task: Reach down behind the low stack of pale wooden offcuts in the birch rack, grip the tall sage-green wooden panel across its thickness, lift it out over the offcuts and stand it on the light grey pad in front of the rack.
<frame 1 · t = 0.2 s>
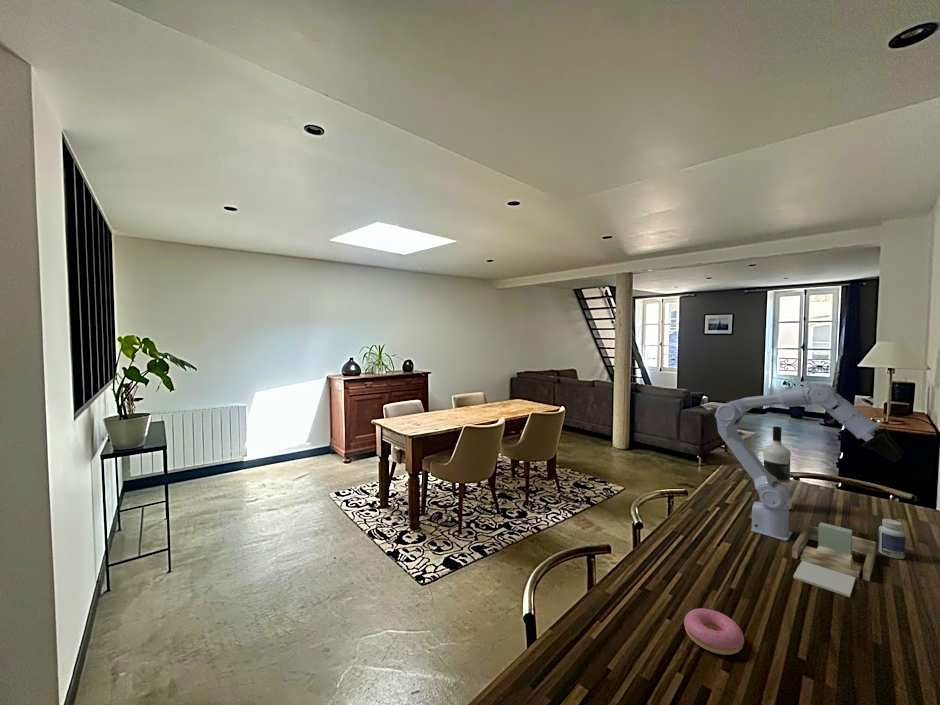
hand: (899, 457, 111), 31 cm above the table, tool tilted 45°, fingers open, 7 cm apart
pill bottle: (891, 555, 119), on the table
doughnut: (713, 640, 86), on the table
rack: (833, 558, 117), on the table
vodka: (776, 506, 154), on the table
grey pad: (824, 578, 107), on the table
green panel: (834, 554, 119), resting in rack
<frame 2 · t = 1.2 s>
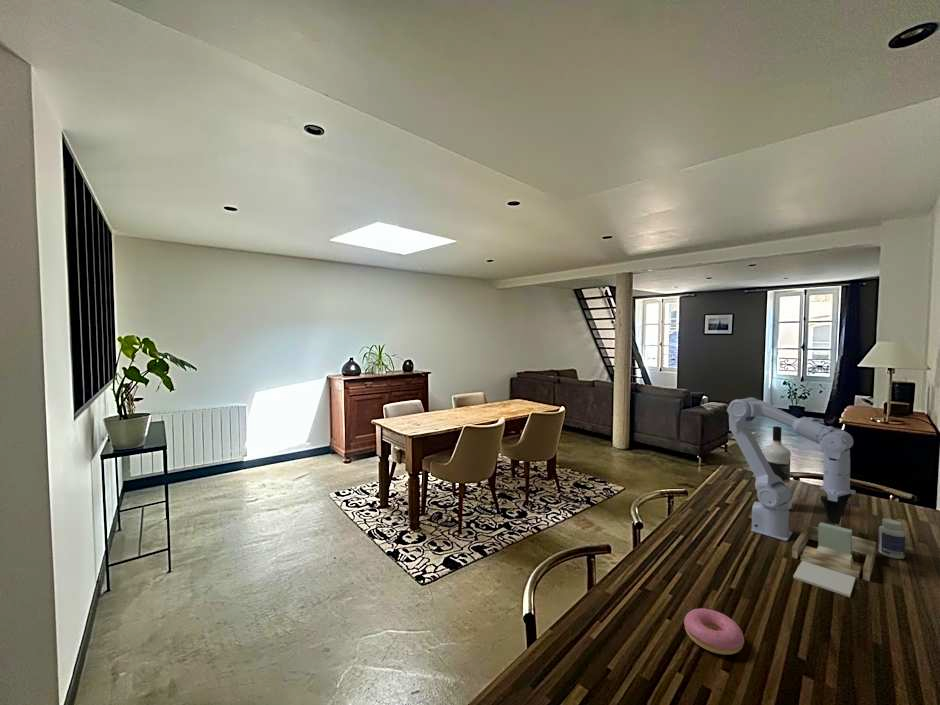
hand: (836, 519, 119), 10 cm above the table, tool pointing down, fingers open, 7 cm apart
nothing on the table moved.
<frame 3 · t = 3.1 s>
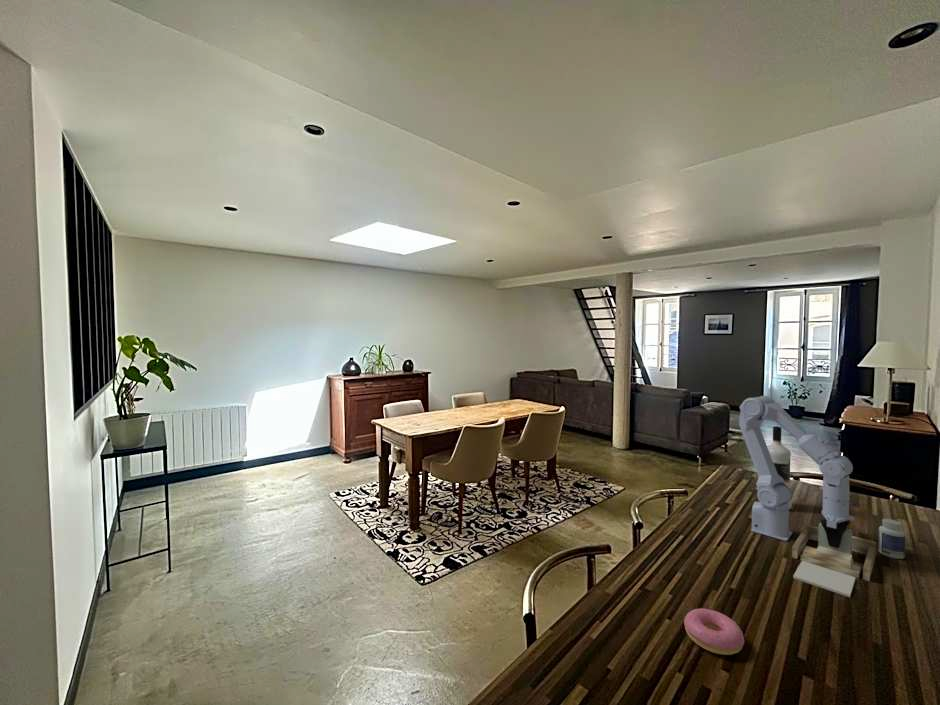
hand: (834, 544, 119), 3 cm above the table, tool pointing down, fingers closed on green panel, 3 cm apart
green panel: (834, 554, 119), resting in rack, touching gripper
everything else where it was.
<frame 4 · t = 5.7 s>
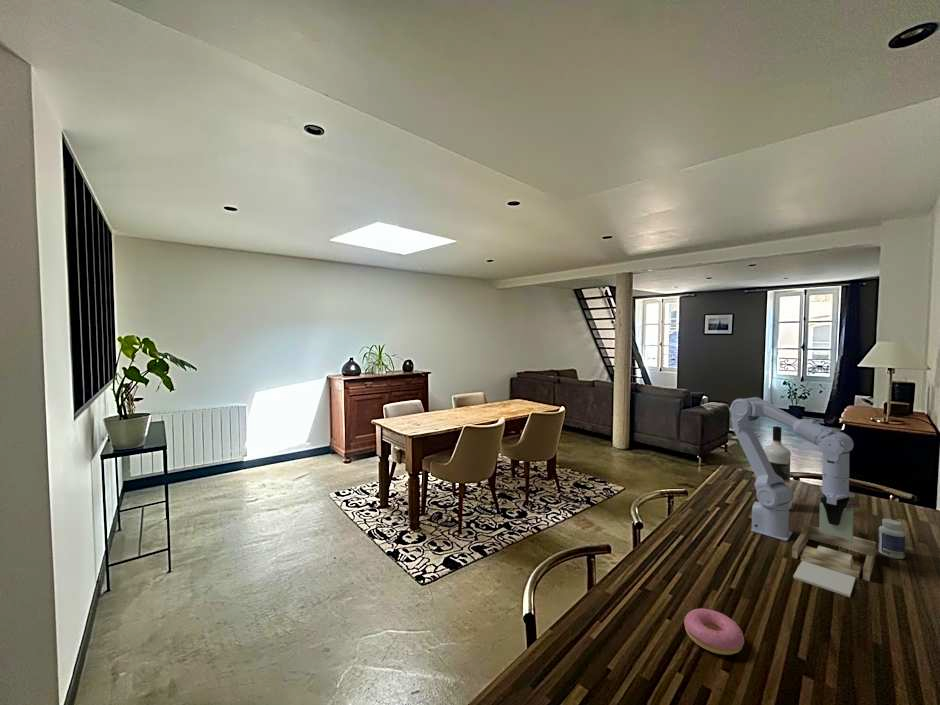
hand: (834, 522, 118), 10 cm above the table, tool pointing down, fingers closed on green panel, 3 cm apart
green panel: (835, 534, 118), point 7 cm above the table, touching gripper
everything else where it was.
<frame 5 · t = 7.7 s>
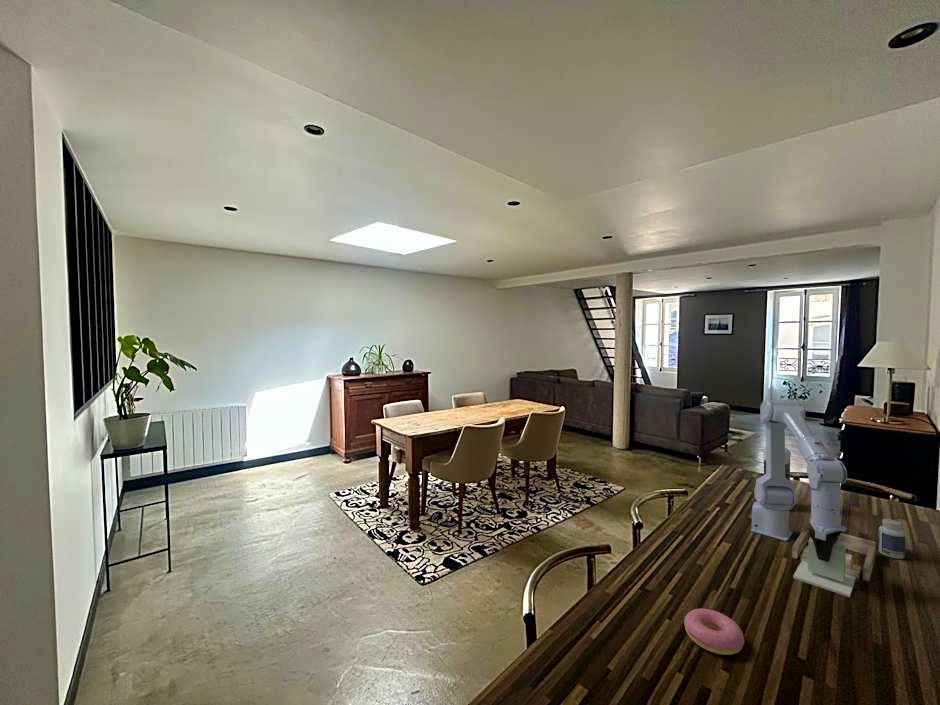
hand: (824, 557, 107), 6 cm above the table, tool pointing down, fingers closed on green panel, 3 cm apart
green panel: (826, 574, 107), point 1 cm above the table, touching gripper
everything else where it was.
when the fingers open (5 cm above the table, at t = 8.6 s): green panel stays where it is, resting on grey pad.
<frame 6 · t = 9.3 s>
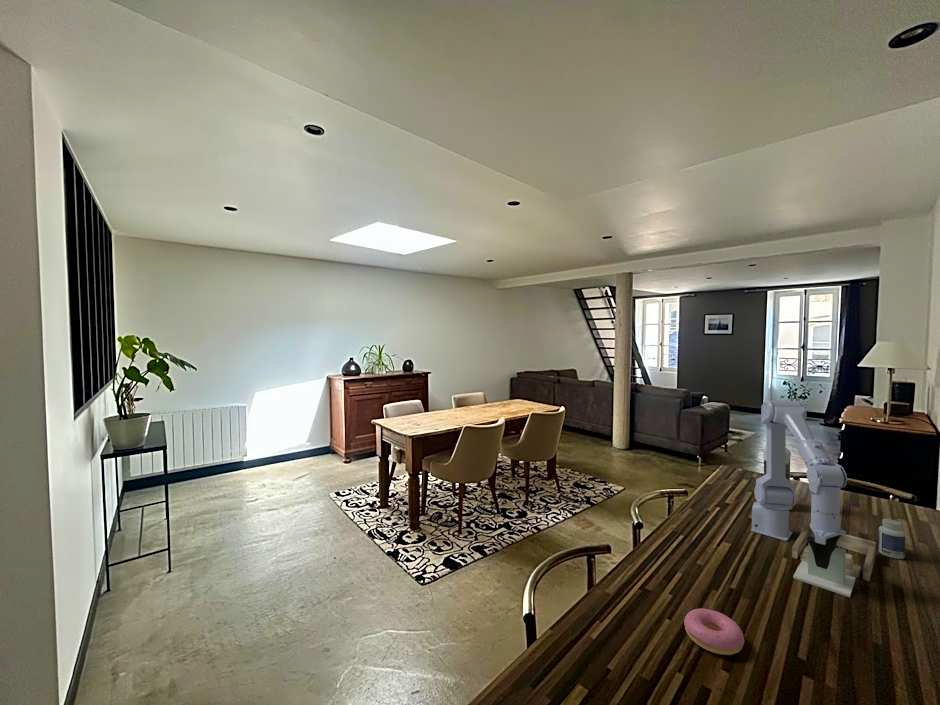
hand: (824, 561, 107), 5 cm above the table, tool pointing down, fingers open, 7 cm apart
green panel: (826, 577, 107), point 1 cm above the table, touching grey pad
everything else where it was.
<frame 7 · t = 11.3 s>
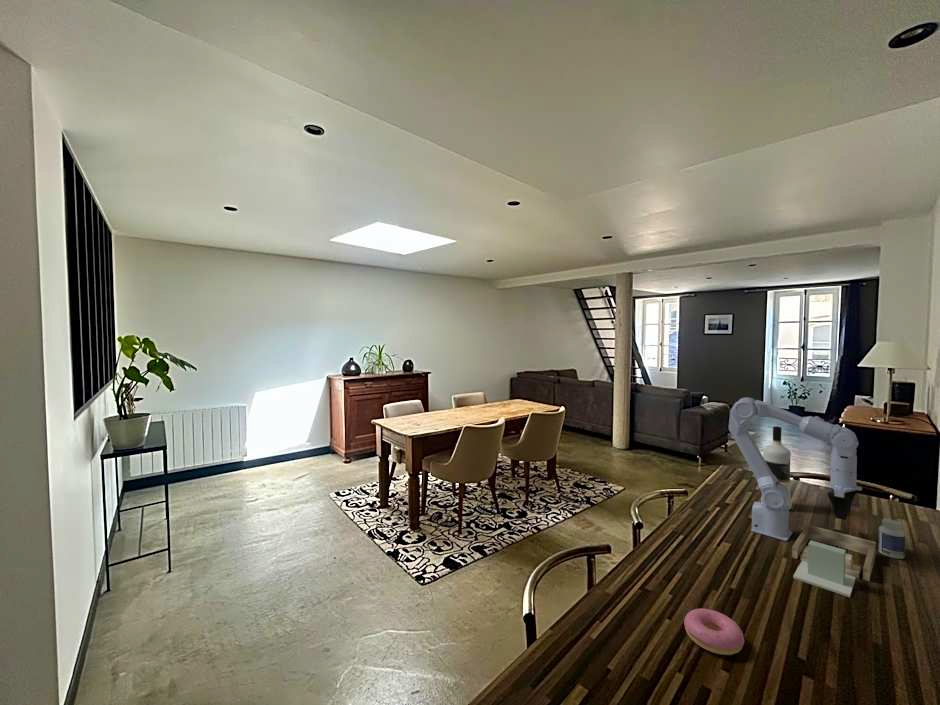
hand: (842, 514, 122), 10 cm above the table, tool pointing down, fingers open, 7 cm apart
nothing on the table moved.
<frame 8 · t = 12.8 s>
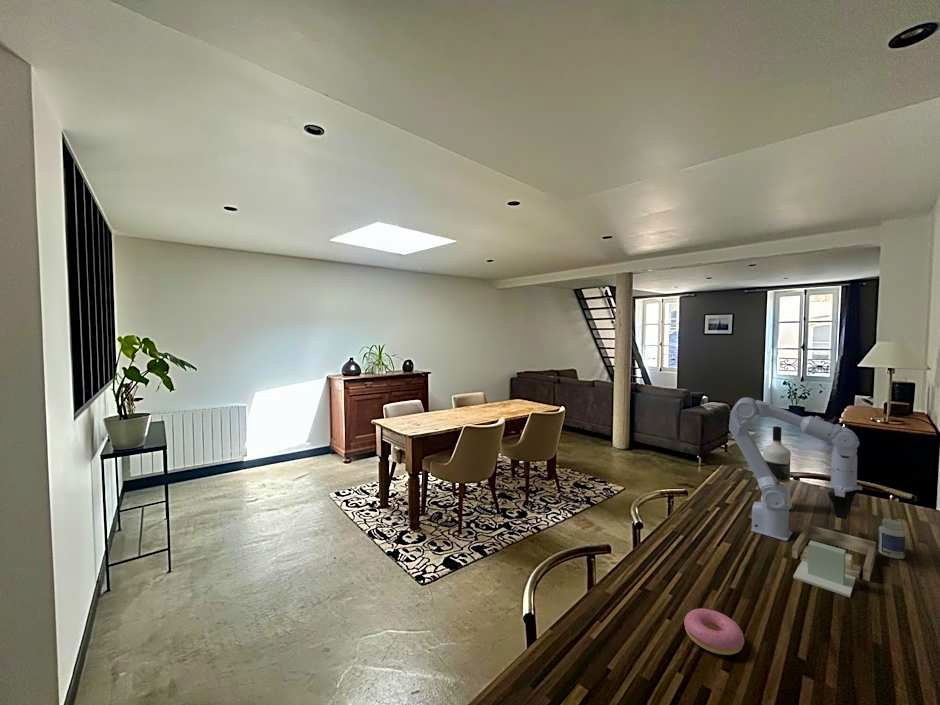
hand: (842, 514, 122), 10 cm above the table, tool pointing down, fingers open, 7 cm apart
nothing on the table moved.
at the end: green panel inside the target area on the grey pad (0.4 cm from its centre), point 0.6 cm above the grey pad's base; green panel tilted 0°; the gripper is holding nothing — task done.
